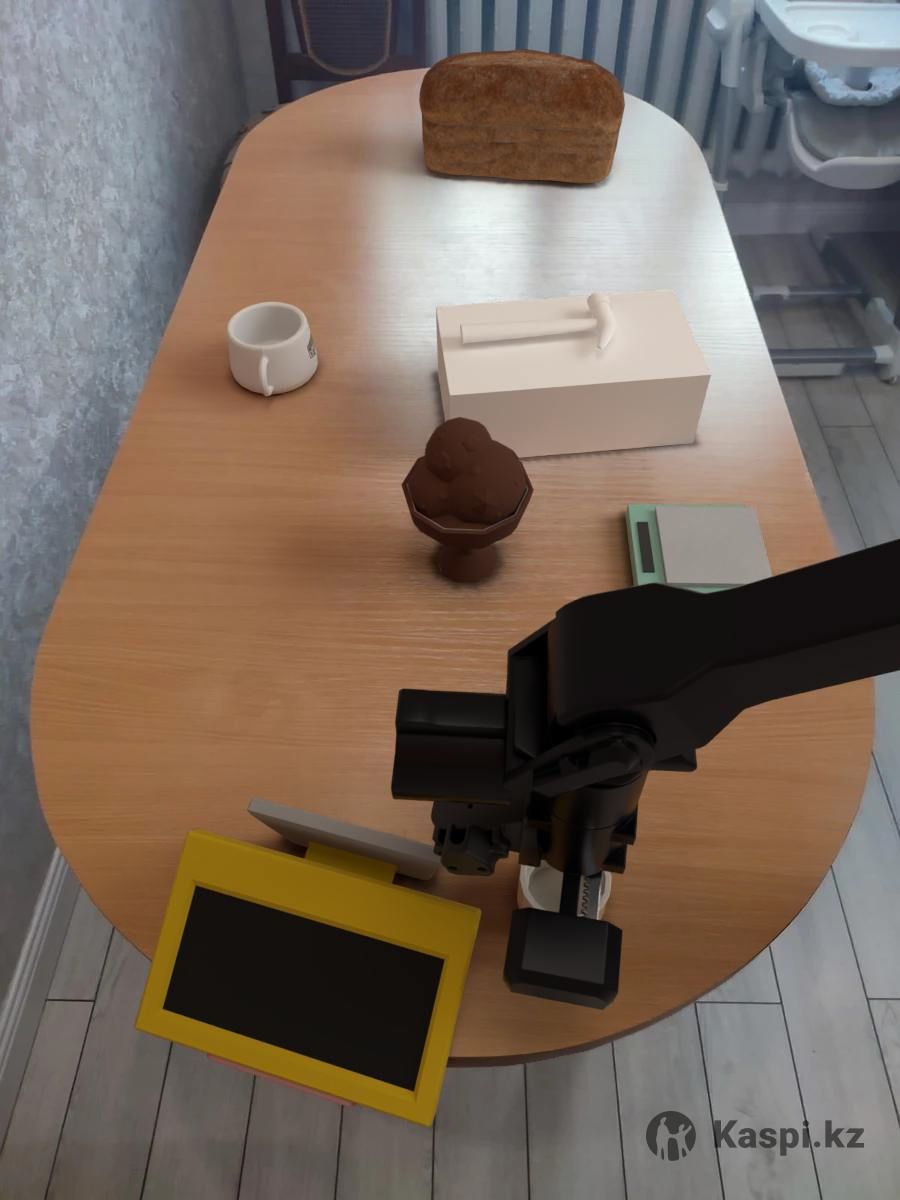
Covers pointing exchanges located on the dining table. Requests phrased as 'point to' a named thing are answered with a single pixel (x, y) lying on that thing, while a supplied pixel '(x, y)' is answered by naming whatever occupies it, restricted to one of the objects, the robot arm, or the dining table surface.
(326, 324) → the dining table surface
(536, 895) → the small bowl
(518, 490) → the ice cream bowl
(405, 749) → the robot arm
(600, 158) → the bread
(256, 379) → the mug
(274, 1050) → the yellow framed monitor
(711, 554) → the kitchen scale
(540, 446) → the hammer topped box
